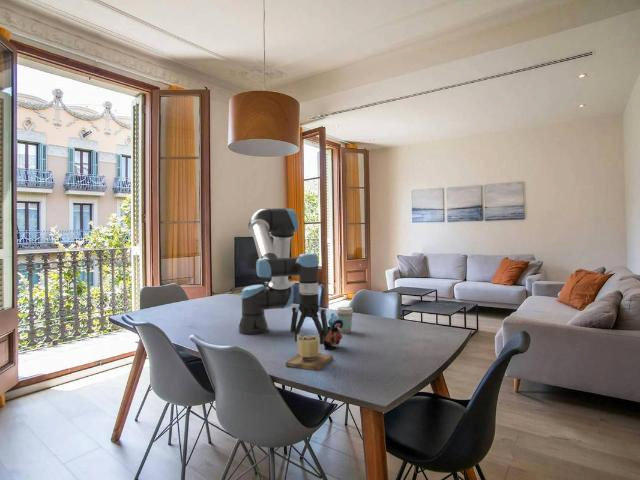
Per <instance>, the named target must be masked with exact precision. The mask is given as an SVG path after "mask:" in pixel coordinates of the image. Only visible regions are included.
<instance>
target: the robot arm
mask: <svg viewBox="0 0 640 480" xmlns="http://www.w3.org/2000/svg"><path fill="white" fill-rule="evenodd" d="M247 225H248V227H247V228H248V231H249V233H250V234H251V236H252V238H253V241H254V244H255V248H256V251H257V255H258V259H257V260H256V264H255V267H256V268H255V269H256V275H257V277H259V278H271V280H270V281H269V282H268V287H267V286H266V287H265V285H264V284H254V285H249V286H245V287H243V289H242V290H241V297H240V298H241V319H240V321H239V325H238V332H239V334H243V335H258V334H262V333H266V332H267V331H269V325H268V321H267V319H266V316H265V315H266V314H265V310H266V311H267V310H278V309H281V310H283V309H286V308H290V307H291V306H292V304H293V303H294V298H295V297H294V292H295V291H294V287H293V286H292V285H291V283H290V282H289V277H295V276H296V277H298V288H299V289H298V290H299V291H298V293H299V297H298V299H299V300H298V301H299V304H298V305H299V306H292V308H291V312H292V317H291V322H290V333H294V341H295V342H296V345H297V346H296V349H297V350H296V351H297V352H299V346H298V339H299V338H301V337H302V332H301V330H302V327H303V324H304V321H305V319H306V318H311V319H312V321H313V323H314V325H315V327H316V330H317V334H318V335H317V337H318V353H321V354H322V352H323V345H324V335H327V334H328V333H329V330H328V327H329V326H328V325H329V324H328V320H327V308H322V307H320V305H319V303H320V302H319V301H320V300H319V256H318V255H317V254H316V253H300V254H299V256H296V257H290V254H291V253H290V252H291V239H292V238H294V235H295V233H296V232H298V230H299V220H298V215H297V213H296V211H295V210H294V209H292V208H286V207H285V208H261V209H259V210H256V211H255V212H254V213H253V214H251V216H250V218H249V221H248V224H247ZM272 238H273V239H272ZM299 311H300V313H301V314H300V316H299V320H298V314H299ZM318 313H319V314H320V319H319V315H318ZM320 320H321V321H320Z"/></svg>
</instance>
